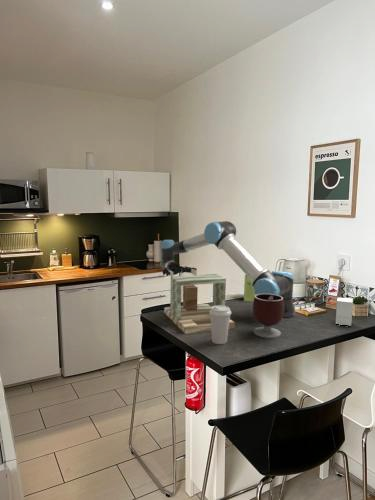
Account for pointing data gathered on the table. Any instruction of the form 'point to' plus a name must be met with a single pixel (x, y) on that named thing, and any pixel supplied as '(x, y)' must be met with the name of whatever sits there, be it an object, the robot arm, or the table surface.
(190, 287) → the walnut block
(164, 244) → the robot arm
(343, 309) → the supplement box
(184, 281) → the tunnel
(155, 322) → the table surface
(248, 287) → the protein box
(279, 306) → the mate gourd
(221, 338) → the coffee cup
